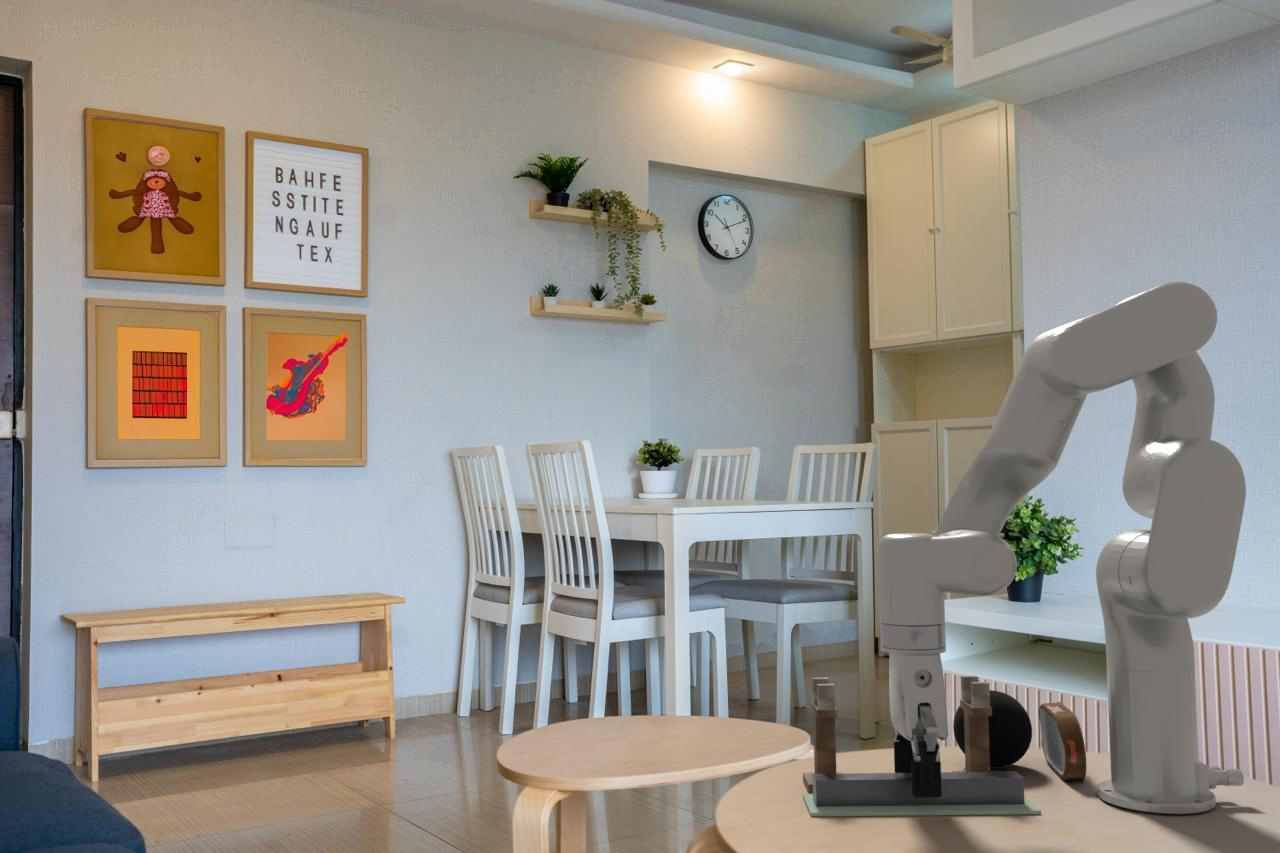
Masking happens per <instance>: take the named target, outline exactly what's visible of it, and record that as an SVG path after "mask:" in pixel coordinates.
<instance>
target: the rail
mask: <svg viewBox="0 0 1280 853" xmlns="http://www.w3.org/2000/svg"><path fill="white" fill-rule="evenodd" d="M812 777H813V793H812V794H813V800H814V802H815V805H816V807H831V806H920V805H1009V804H1025V802H1024V796H1025V780H1024V777H1023V776H1022V775H1021V774H1020V773H1018V772H1017V771H993V772H952V771H950V772H947V771H945V772H944V771H943V772H942V771H941V788H942V795H941V797H931V798H916V797H914V796H913V794H912V773H895V772H873V773H871V772H867V773H865V772H861V773H860V772H859V773H856V772H855V773H851V772H850V773H848V772H847V773H843V774H812Z"/></svg>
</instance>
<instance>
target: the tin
mask: <svg viewBox="0 0 1280 853" xmlns="http://www.w3.org/2000/svg"><path fill="white" fill-rule="evenodd" d="M1038 719H1039V722H1040V734H1041V738H1040V739H1041V743H1040V744H1041V748H1042V751H1043V755H1044V758H1045V761H1046V763H1047V765H1048V766H1049V767H1050V768H1051V769H1052V770H1053V771H1054V772H1055V774H1057V776H1058V777H1059V778H1060V779H1061V780H1063V781H1079V780H1080V781H1084V780H1085V779H1086V775H1087V752H1086V746H1085V745H1086V744H1085V741H1084V736H1083V732H1082V727H1081V724H1080V722H1079V719H1078V717H1077V715H1076V714H1075V713H1074V712H1073V711H1072V710H1071V709H1069V707H1067V706H1066V705H1065V704H1064V703H1062V702H1061V701H1057V702H1047V703H1041V704H1040V705H1039V706H1038Z"/></svg>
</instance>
